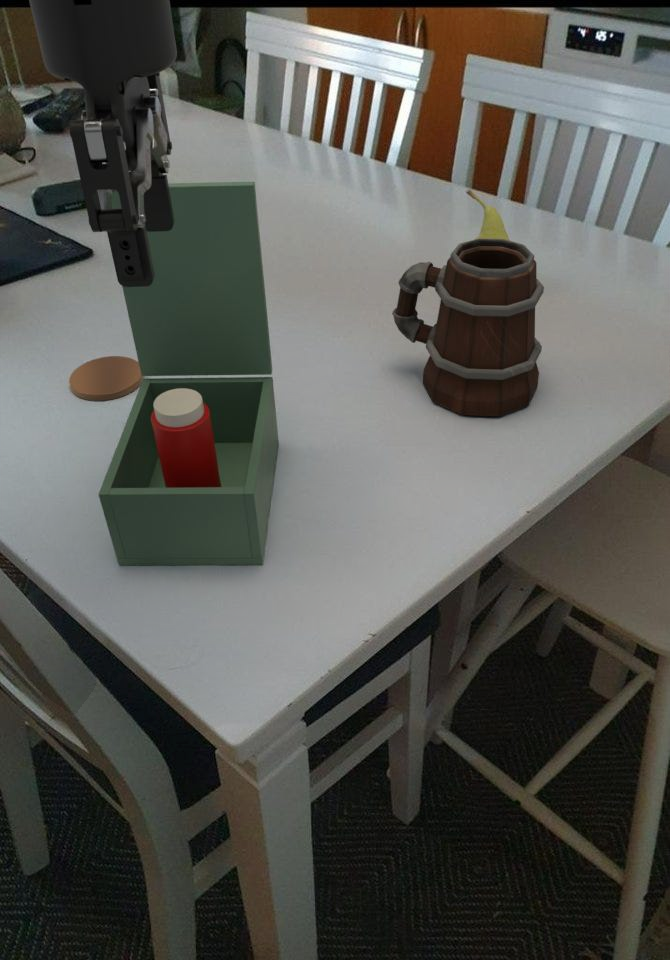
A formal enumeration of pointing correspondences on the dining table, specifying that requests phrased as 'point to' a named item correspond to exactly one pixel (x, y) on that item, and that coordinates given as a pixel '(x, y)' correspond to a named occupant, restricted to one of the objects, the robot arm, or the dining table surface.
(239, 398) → the chest
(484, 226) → the fruit
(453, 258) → the mug
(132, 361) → the disc
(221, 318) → the chest lid
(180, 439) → the sauce bottle
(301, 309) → the dining table surface
